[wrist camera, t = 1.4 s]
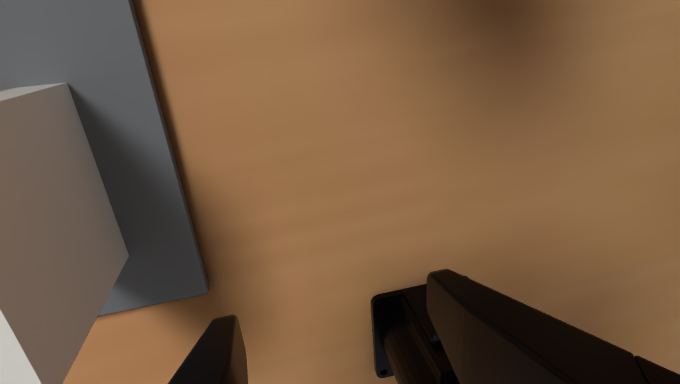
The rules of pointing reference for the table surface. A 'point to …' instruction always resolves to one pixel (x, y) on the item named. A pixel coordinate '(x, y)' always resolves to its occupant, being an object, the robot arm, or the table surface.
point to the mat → (113, 134)
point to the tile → (50, 235)
